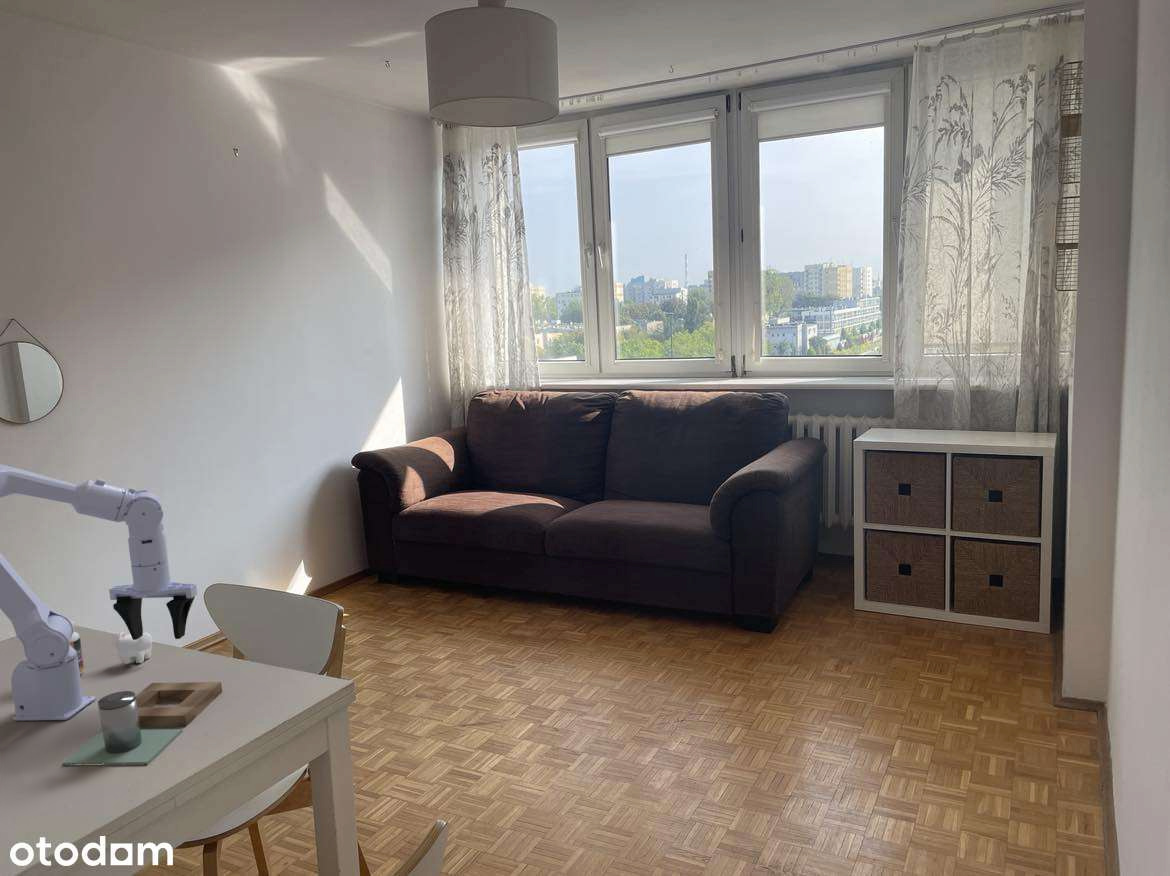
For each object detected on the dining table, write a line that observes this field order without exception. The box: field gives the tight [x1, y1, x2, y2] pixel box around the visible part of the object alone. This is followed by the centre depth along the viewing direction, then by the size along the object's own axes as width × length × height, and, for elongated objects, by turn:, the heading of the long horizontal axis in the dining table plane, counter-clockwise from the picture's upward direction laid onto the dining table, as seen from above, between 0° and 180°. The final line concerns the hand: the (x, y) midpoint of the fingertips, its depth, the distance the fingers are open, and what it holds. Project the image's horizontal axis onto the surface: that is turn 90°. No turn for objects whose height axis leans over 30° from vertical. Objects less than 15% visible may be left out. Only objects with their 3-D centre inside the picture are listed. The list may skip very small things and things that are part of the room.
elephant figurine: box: [114, 631, 153, 665], centre depth 168 cm, size 7×8×6 cm
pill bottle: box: [69, 619, 85, 676], centre depth 162 cm, size 6×6×10 cm
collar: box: [135, 681, 223, 728], centre depth 147 cm, size 12×12×2 cm
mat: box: [61, 728, 183, 766], centre depth 135 cm, size 13×10×1 cm
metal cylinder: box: [97, 690, 142, 754], centre depth 134 cm, size 5×5×8 cm
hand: (158, 637), depth 154 cm, fingers open, 7 cm apart
